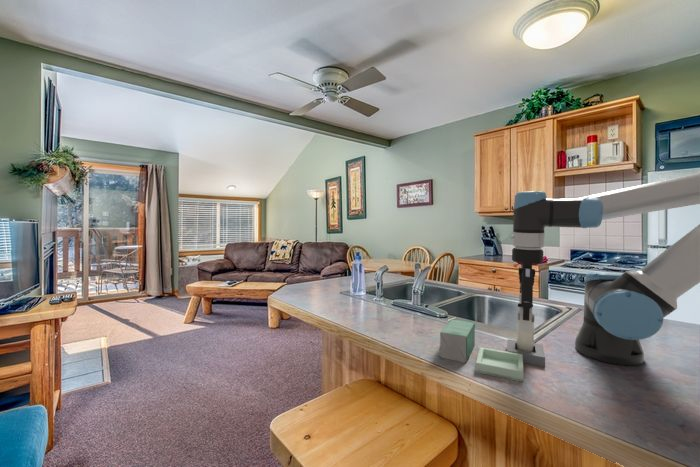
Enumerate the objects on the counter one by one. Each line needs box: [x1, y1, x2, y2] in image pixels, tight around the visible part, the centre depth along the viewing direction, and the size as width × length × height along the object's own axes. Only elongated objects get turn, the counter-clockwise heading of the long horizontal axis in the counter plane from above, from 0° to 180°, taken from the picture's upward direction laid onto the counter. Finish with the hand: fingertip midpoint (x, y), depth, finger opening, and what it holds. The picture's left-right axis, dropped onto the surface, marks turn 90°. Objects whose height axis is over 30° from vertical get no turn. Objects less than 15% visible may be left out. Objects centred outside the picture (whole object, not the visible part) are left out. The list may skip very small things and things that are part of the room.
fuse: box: [516, 312, 535, 352], centre depth 89 cm, size 4×4×12 cm
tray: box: [475, 346, 524, 383], centre depth 83 cm, size 10×10×2 cm
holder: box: [506, 338, 546, 368], centre depth 89 cm, size 9×9×2 cm
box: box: [439, 319, 476, 364], centre depth 93 cm, size 7×14×8 cm, turn 150°
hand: (524, 323), depth 89 cm, fingers open, 13 cm apart
